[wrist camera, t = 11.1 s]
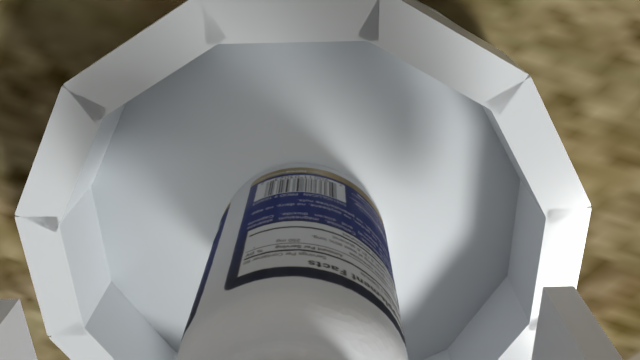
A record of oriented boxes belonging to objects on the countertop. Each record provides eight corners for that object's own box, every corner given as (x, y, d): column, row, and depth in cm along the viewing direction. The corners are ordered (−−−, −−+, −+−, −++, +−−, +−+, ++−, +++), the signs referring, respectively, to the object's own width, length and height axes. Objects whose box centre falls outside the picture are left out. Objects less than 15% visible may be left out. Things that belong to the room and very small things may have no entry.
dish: (116, 393, 24) (84, 468, 21) (22, -20, 17) (-47, -2, 14) (513, 390, 24) (542, 465, 21) (577, -33, 17) (635, -17, 14)
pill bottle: (306, 325, 21) (289, 628, 12) (188, 233, 20) (74, 505, 11) (419, 232, 20) (494, 507, 11) (300, 124, 18) (273, 340, 9)
